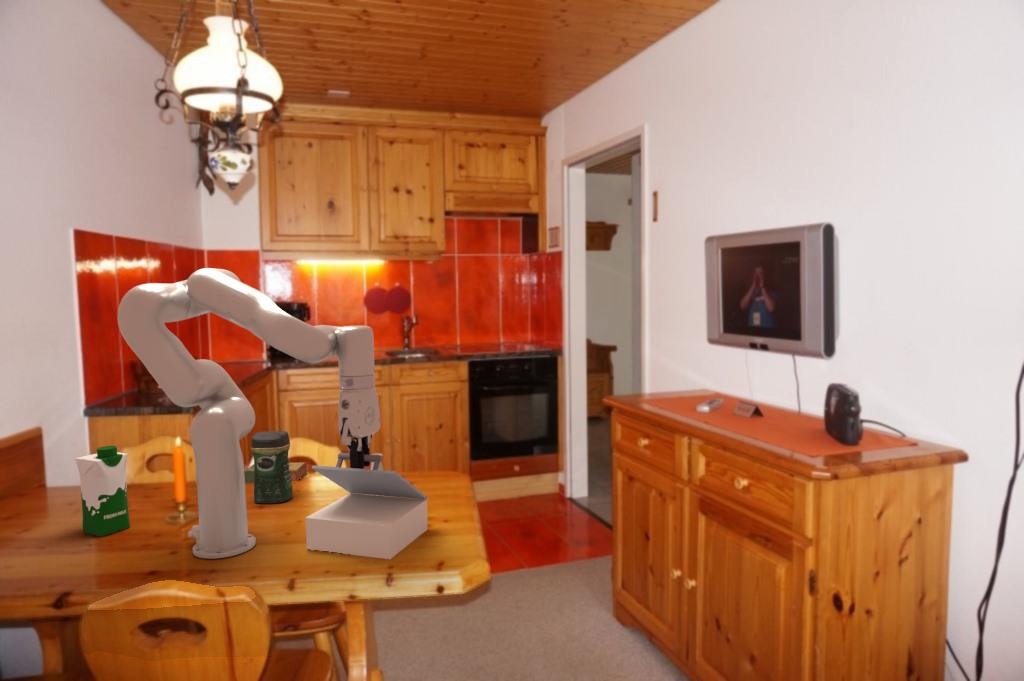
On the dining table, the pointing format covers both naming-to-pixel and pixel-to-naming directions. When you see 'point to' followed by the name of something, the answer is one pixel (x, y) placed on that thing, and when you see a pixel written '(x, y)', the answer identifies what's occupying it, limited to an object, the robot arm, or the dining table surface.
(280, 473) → the coffee jar
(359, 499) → the box body
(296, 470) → the carton
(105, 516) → the milk carton
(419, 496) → the lid flap
